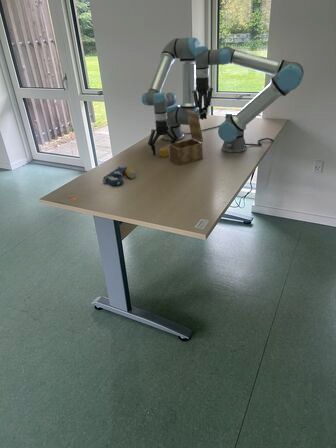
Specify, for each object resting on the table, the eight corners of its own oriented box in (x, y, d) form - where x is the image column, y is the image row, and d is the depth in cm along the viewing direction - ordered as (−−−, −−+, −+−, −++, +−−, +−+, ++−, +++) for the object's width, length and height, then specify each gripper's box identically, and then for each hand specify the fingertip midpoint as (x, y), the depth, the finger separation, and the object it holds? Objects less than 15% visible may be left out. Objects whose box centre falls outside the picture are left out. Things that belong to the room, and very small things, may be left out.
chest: (179, 164, 202) (178, 149, 197) (170, 159, 211) (169, 144, 205) (202, 158, 208) (202, 143, 203) (193, 153, 217) (192, 138, 211)
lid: (196, 114, 192) (208, 108, 194) (186, 110, 201) (198, 105, 203) (201, 142, 202) (213, 137, 204) (191, 138, 211) (203, 132, 213)
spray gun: (141, 172, 194) (120, 170, 201) (140, 166, 192) (119, 164, 199) (122, 188, 179) (100, 185, 185) (121, 181, 177) (98, 178, 183)
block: (161, 157, 215) (160, 150, 213) (160, 155, 219) (160, 148, 217) (168, 156, 216) (167, 149, 214) (167, 154, 219) (166, 147, 217)
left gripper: (145, 124, 198) (148, 158, 209) (181, 117, 207) (183, 150, 218) (140, 122, 204) (144, 155, 215) (176, 115, 213) (178, 147, 224)
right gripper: (194, 79, 184) (196, 122, 196) (216, 75, 189) (216, 117, 202) (187, 78, 190) (189, 120, 202) (209, 74, 195) (210, 115, 207)
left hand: (163, 153), depth 216 cm, fingers open, 13 cm apart
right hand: (203, 118), depth 202 cm, fingers closed on lid, 2 cm apart
